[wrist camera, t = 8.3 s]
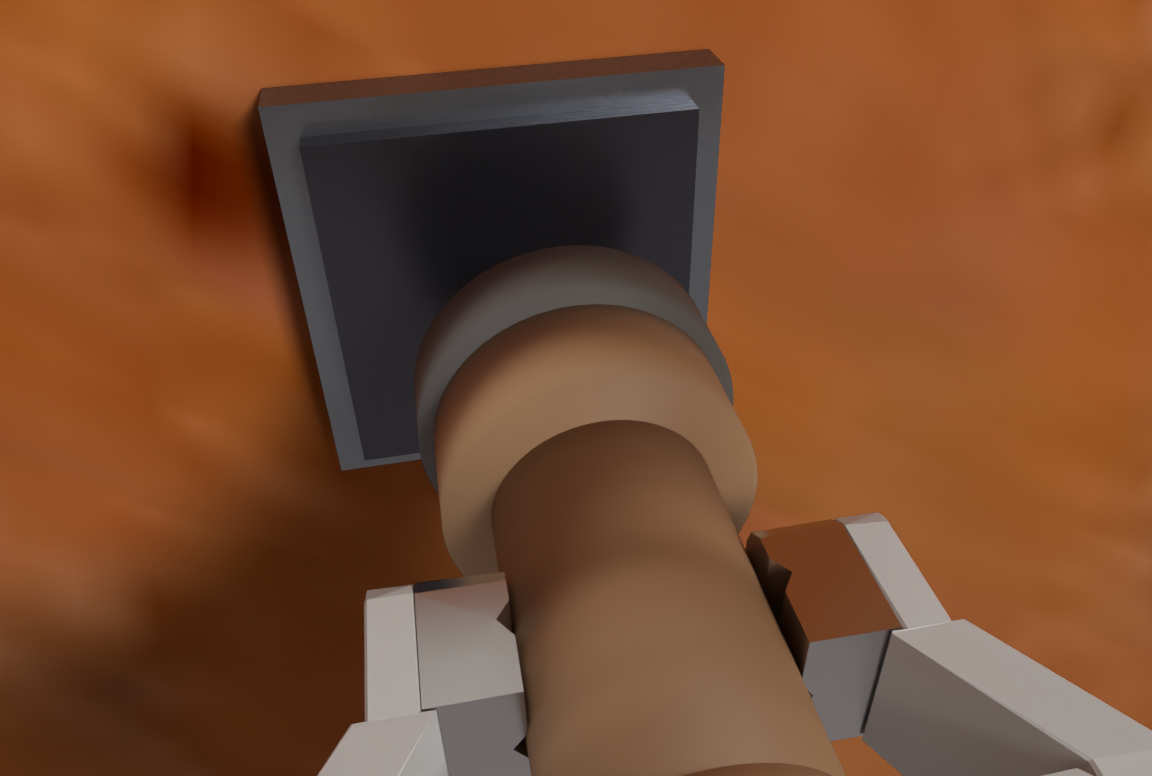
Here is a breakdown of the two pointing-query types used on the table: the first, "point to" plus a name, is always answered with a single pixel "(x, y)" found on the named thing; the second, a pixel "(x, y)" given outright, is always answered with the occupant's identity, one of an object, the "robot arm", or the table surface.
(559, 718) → the stamp
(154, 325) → the table surface
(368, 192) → the ink pad
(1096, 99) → the table surface
